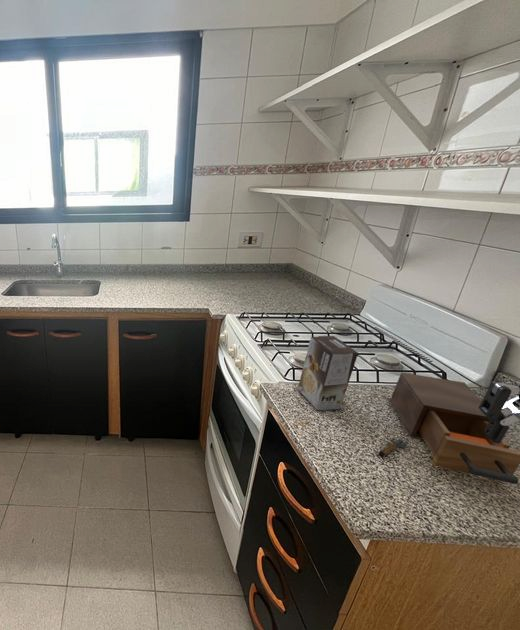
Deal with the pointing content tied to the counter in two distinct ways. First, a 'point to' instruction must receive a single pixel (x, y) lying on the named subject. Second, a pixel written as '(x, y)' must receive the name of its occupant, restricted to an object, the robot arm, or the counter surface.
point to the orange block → (469, 438)
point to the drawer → (467, 447)
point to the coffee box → (326, 372)
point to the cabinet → (432, 399)
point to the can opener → (392, 447)
